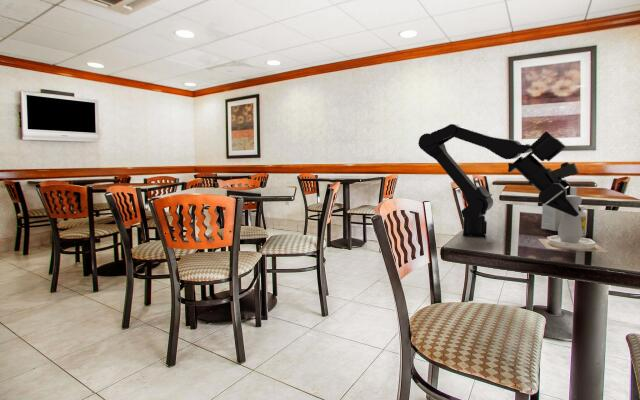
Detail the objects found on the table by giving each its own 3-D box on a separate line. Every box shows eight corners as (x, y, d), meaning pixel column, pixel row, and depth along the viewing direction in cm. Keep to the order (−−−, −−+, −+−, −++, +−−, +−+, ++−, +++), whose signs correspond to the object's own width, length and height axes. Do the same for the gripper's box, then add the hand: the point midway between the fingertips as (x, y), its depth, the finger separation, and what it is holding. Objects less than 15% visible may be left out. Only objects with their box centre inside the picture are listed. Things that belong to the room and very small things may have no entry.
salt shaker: (587, 243, 101) (590, 196, 99) (567, 244, 101) (571, 197, 99) (571, 238, 107) (574, 194, 105) (552, 239, 106) (555, 194, 105)
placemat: (546, 249, 101) (546, 248, 101) (537, 239, 112) (537, 238, 112) (608, 253, 96) (608, 252, 96) (592, 243, 107) (592, 241, 107)
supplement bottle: (581, 234, 119) (583, 204, 117) (587, 237, 114) (590, 206, 112) (562, 233, 120) (564, 204, 119) (567, 236, 115) (569, 206, 114)
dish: (552, 248, 101) (552, 242, 100) (543, 239, 111) (544, 234, 111) (600, 251, 97) (601, 245, 97) (587, 241, 107) (587, 236, 107)
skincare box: (560, 227, 129) (562, 185, 127) (575, 230, 123) (578, 186, 122) (540, 229, 127) (542, 186, 125) (554, 232, 122) (557, 187, 120)
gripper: (555, 153, 96) (605, 197, 90) (563, 152, 110) (606, 190, 105) (520, 182, 102) (565, 225, 96) (531, 177, 116) (571, 215, 111)
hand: (578, 213), depth 102 cm, fingers open, 9 cm apart
